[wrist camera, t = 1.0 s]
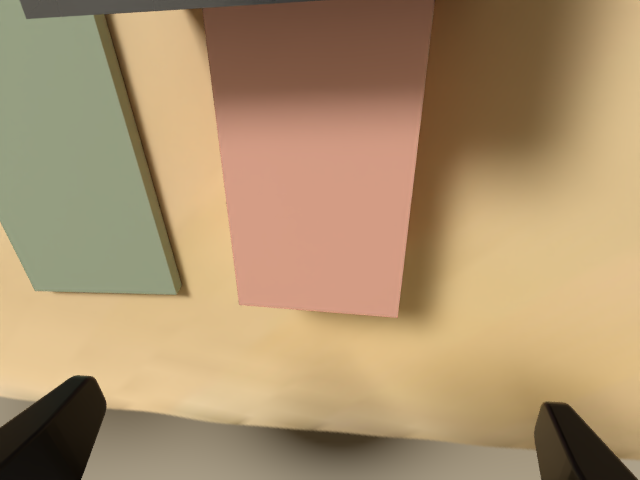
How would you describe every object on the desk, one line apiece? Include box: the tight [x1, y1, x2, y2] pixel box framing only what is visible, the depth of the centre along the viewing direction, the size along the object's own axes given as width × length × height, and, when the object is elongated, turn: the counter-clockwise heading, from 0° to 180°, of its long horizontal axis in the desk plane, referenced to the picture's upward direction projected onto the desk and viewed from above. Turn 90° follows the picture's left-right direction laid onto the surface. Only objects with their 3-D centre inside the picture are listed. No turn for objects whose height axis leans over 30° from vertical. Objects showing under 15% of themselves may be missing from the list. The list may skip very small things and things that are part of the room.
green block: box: [0, 0, 182, 295], centre depth 16 cm, size 6×14×1 cm, turn 4°
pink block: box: [202, 0, 435, 318], centre depth 13 cm, size 5×13×4 cm, turn 0°
